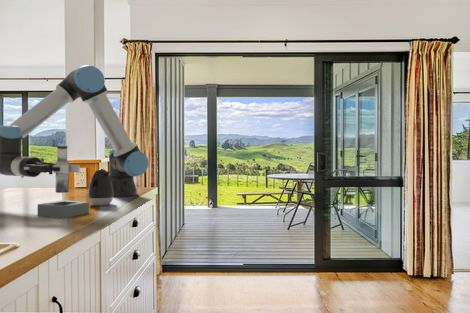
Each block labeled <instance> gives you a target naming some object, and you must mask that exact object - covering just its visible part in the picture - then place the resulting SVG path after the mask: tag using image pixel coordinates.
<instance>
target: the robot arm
mask: <svg viewBox="0 0 470 313" xmlns="http://www.w3.org/2000/svg"><path fill="white" fill-rule="evenodd" d="M105 81H106V80H105V76H104V74H103V72H102V71H101V70H100V68H98V67H96V66H94V65H90V64H88V65H87V64H86V65H82V66H79V67H77V68H76V69H74V70H72V71H70V72H69V73H68V75H66V77H65V78H63V80H61V81H60V82H59V83H58V84H56V86H55V89H54V90H53V91H52V92H50V93H49V94H47V95H46V96H45V97H44V98H42V99H41V100H39V102H37V103H36V104H35V105H34V106H32V107H31V108H30V109H28V110H27V111H25V113H23V114H22V115H20V116H19V117H18V118H17V119H15V120H14V121H12V123H10V124H9V125H0V175H3V176H13V177H15V176H16V177H20V178H22V179H23V178H24V177H27V178H35V177H38V176H40V175H41V173H42V174H47V173H48V175H53V174H54V173H55V174H56V173H69V174H70V173H81V171H80V170H81V169H80V168H81V167H80V166H81V165H80V164H70V163H69V166H66V165H56V162H55V163H54V162H53V163H52V162H47V161H42V160H41V159H40V158H39V157H35V156H23V155H22V140H23V139H25V138H26V137H27V136H28V135H29V134H31V133H32V132H33V131H35V130H36V129H37V128H38V127H40V126H41V125H42V124H44V122H46V121H47V120H48V119H49V118H51V117H52V116H53V115H54V114H56V113H57V112H58V111H59V110H60V109H62V108H63V107H65V106H66V105H67V104H68V103H73V102H74V101H76V100H77V99H79V98H80V99H81V101H82V103H85V104H87V105H88V106H89V108H90V109H91V111H92V113H93V115H94V116H95V119H96V120H97V122H98V124H99V125H100V127H101V129H102V131H103V134H105V137H106V138H107V139H108V141H109V143H110V145H111V147H112V149H110V150H109V153H108V160H109V162H108V166H109V167H108V171H109V176H110V179H111V182H112V186H113V191H114V196H113V198H114V197H115V198H116V197H120V198H121V197H132V196H136V195H138V190H137V187H136V183H135V179H134V177H139V176H142V175H144V174H145V173H146V172H147V170H148V168H149V163H150V162H149V157H148V156H147V154H146V153H144V152H143V151H141V150H140V148H139V147H138V145H137V143H135V142H133V141H132V140H131V139H130V137H129V135H128V133H127V131H126V130H125V127H124V126H123V124H122V122H121V120H120V118H119V117H118V114H117V112H116V111H115V109H114V107H113V105H112V104H111V101H110V100H109V98H108V95H107V94H108V92H109V91H108V88H107V87H106V84H105Z"/></svg>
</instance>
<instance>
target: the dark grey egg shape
mask: <svg viewBox="0 0 470 313" xmlns="http://www.w3.org/2000/svg"><path fill="white" fill-rule="evenodd" d="M87 198H88V199H89V203H90V204H91V205H93V206H97V207H103V206H107V205H109V204H111V203H112V201H113V199H114V191H113V186H112V182H111V179H110V176H109V170H106V169H104V168H99V169H96V170H95V172H93V174H92V177H91V178H90V182H89V186H88V191H87Z"/></svg>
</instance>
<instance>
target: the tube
mask: <svg viewBox="0 0 470 313" xmlns="http://www.w3.org/2000/svg"><path fill="white" fill-rule="evenodd" d="M56 148H57V155H56V156H57V161H55V164H56V165H66V166H69V164H70V161H68V145H57V146H56ZM69 174H70V172H69V173H55V193H56V194H57V193H58V194H59V193H60V194H63V193H69V192H70V175H69Z"/></svg>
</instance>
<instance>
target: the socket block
mask: <svg viewBox="0 0 470 313" xmlns="http://www.w3.org/2000/svg"><path fill="white" fill-rule="evenodd" d="M89 212H90V201H80V200H68V199H63V200H58V201H51V202H44V203H39V204H37V216H38V217H47V218H54V219H55V218H56V219H68V218H71V217H77V216H80V215H81V216H82V215H84V214H89Z"/></svg>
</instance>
